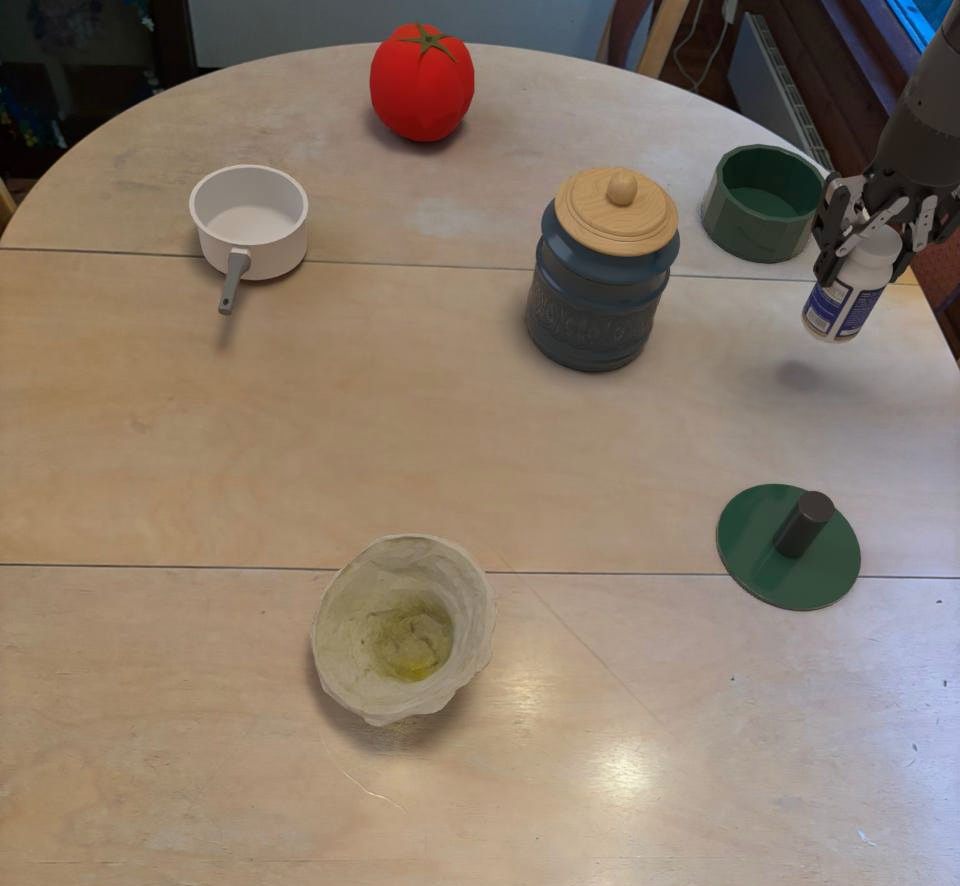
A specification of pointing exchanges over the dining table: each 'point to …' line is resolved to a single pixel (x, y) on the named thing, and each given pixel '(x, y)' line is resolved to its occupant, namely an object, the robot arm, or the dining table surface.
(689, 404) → the dining table surface
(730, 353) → the dining table surface
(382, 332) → the dining table surface
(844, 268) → the pill bottle
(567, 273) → the canister
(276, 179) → the saucepan
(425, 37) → the tomato
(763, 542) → the lid
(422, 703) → the bowl
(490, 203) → the dining table surface
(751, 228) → the pot
